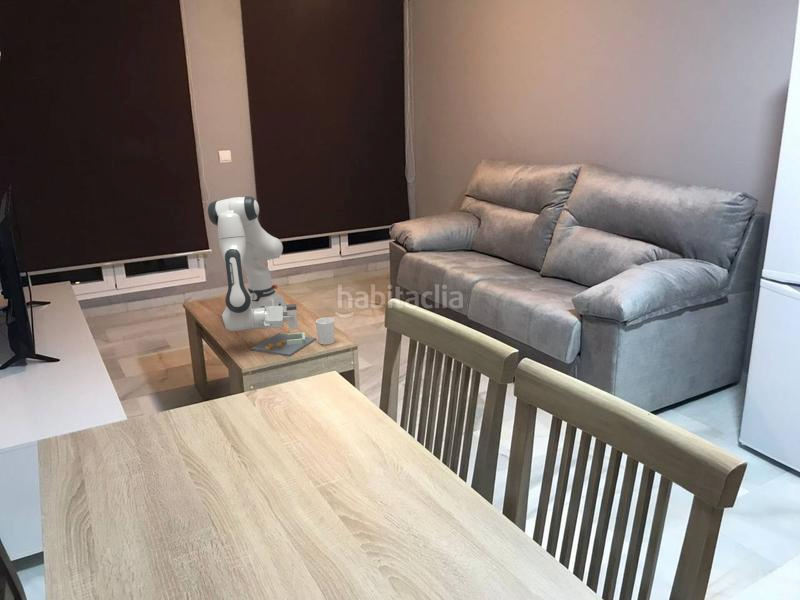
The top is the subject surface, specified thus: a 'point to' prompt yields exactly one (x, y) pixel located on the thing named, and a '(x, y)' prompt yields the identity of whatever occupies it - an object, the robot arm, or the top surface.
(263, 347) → the board
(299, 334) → the end holder
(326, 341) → the white cup
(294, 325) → the beige container
